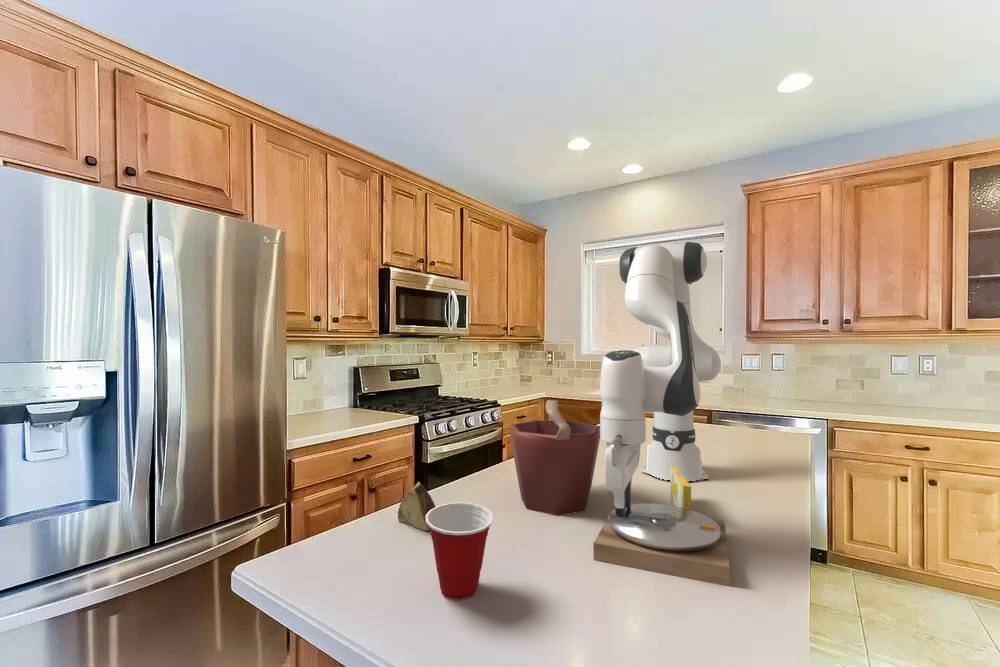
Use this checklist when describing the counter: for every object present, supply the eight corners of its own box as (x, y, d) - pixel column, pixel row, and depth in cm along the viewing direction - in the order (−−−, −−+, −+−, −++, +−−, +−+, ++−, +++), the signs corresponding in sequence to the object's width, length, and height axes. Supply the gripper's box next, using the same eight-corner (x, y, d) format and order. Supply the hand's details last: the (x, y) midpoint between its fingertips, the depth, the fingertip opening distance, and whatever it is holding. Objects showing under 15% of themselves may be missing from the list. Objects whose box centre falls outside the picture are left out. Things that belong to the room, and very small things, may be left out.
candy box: (692, 524, 99) (691, 486, 99) (681, 523, 99) (681, 485, 99) (678, 500, 115) (677, 466, 115) (669, 499, 115) (669, 466, 115)
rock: (383, 510, 100) (394, 519, 92) (406, 475, 104) (418, 481, 95) (422, 534, 103) (436, 545, 94) (443, 500, 107) (458, 507, 98)
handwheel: (718, 518, 93) (718, 476, 93) (722, 560, 75) (721, 507, 75) (619, 504, 101) (618, 465, 101) (600, 539, 83) (599, 491, 83)
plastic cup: (435, 617, 65) (435, 532, 65) (417, 581, 75) (417, 507, 75) (504, 600, 69) (504, 520, 69) (479, 568, 79) (479, 498, 79)
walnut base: (615, 518, 102) (615, 504, 102) (724, 534, 93) (724, 519, 93) (593, 559, 82) (593, 543, 82) (729, 586, 73) (729, 567, 73)
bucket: (591, 526, 97) (590, 409, 98) (493, 514, 104) (493, 405, 105) (603, 492, 120) (602, 397, 121) (522, 484, 128) (522, 394, 128)
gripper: (631, 443, 81) (631, 521, 80) (644, 424, 99) (645, 488, 99) (595, 439, 83) (596, 516, 83) (615, 422, 102) (615, 485, 101)
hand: (623, 501), depth 91 cm, fingers open, 6 cm apart
